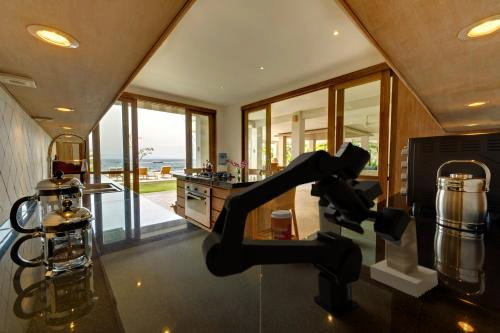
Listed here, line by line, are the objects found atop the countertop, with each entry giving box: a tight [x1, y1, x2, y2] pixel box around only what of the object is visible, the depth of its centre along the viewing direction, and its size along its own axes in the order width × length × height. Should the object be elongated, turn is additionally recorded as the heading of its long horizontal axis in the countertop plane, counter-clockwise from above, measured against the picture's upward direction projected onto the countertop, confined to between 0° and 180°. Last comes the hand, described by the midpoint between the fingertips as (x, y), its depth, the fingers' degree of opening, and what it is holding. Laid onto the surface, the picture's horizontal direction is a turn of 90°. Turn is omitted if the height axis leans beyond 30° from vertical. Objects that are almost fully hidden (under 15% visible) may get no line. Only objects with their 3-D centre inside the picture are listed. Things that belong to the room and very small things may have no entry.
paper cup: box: [270, 209, 294, 240], centre depth 72 cm, size 8×8×14 cm
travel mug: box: [317, 196, 341, 235], centre depth 86 cm, size 8×8×18 cm
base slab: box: [370, 258, 439, 299], centre depth 51 cm, size 10×10×3 cm
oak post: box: [384, 215, 419, 274], centre depth 51 cm, size 4×4×13 cm
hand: (379, 238), depth 48 cm, fingers open, 9 cm apart
